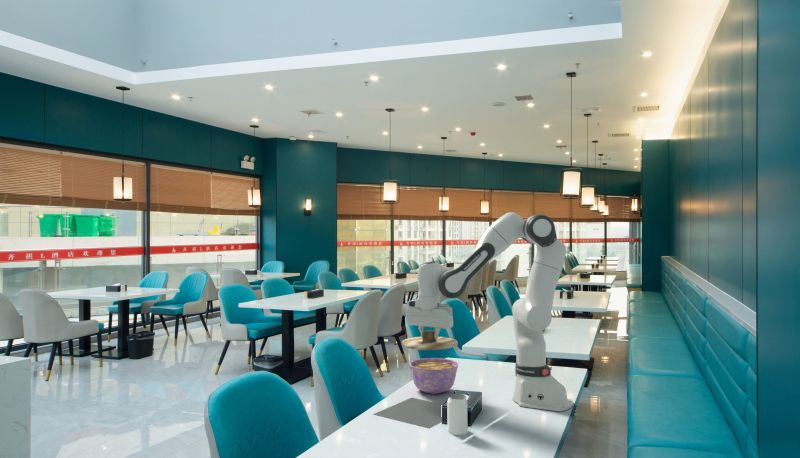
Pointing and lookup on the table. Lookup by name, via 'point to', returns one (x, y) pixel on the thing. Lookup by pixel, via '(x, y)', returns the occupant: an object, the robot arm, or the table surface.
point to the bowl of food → (433, 374)
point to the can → (457, 414)
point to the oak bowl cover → (429, 342)
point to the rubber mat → (414, 412)
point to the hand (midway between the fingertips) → (429, 337)
